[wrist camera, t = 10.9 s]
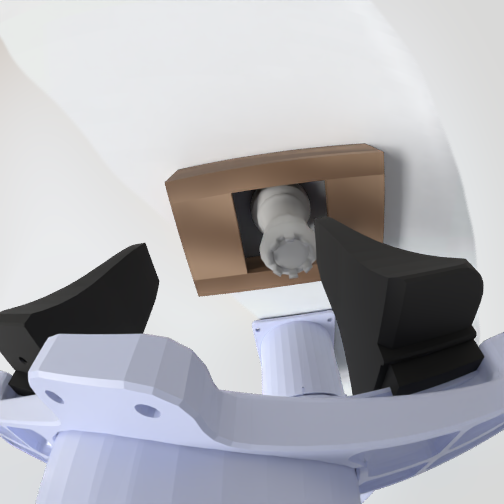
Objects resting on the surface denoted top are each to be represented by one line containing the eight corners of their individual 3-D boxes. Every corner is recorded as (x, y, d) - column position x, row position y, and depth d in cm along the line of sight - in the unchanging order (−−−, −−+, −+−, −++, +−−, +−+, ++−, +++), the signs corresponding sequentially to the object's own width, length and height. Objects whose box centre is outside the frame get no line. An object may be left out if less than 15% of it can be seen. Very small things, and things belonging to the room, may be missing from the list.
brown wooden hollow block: (366, 248, 24) (380, 270, 20) (205, 271, 25) (198, 296, 22) (364, 143, 19) (383, 152, 16) (178, 169, 20) (164, 182, 17)
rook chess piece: (311, 178, 21) (340, 220, 14) (305, 232, 23) (326, 293, 16) (251, 174, 21) (249, 215, 14) (249, 230, 23) (246, 292, 16)
